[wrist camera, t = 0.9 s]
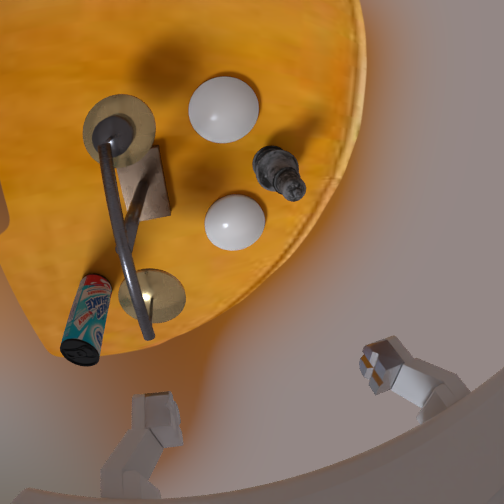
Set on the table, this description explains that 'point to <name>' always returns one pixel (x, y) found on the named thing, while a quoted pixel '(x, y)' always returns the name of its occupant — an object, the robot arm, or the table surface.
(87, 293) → the beverage can
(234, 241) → the dish high side
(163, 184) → the balance
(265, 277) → the table surface
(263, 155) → the chess piece
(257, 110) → the dish low side
